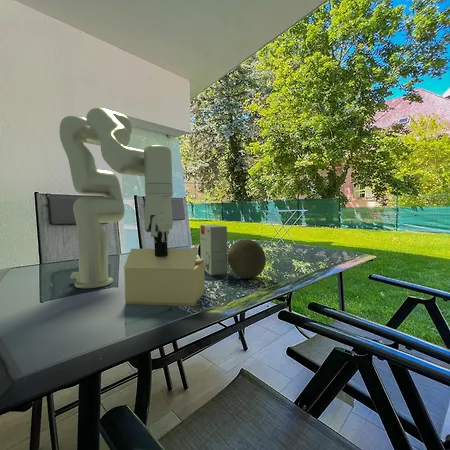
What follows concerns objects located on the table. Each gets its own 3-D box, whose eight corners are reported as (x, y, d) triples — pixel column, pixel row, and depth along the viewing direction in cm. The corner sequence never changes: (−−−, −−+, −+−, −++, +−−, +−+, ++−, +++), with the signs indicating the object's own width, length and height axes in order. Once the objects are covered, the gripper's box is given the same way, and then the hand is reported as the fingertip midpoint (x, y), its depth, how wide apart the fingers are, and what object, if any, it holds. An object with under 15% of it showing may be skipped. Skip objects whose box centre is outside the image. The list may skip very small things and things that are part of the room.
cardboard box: (125, 304, 77) (124, 269, 76) (146, 289, 91) (145, 260, 90) (194, 306, 74) (193, 270, 74) (204, 291, 88) (204, 260, 88)
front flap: (124, 269, 76) (123, 268, 76) (131, 249, 81) (131, 248, 80) (193, 270, 74) (193, 269, 73) (197, 249, 78) (197, 248, 78)
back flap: (135, 261, 83) (135, 260, 83) (145, 260, 90) (145, 258, 90) (199, 262, 81) (199, 260, 81) (204, 260, 88) (204, 259, 88)
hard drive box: (200, 268, 123) (199, 224, 122) (216, 266, 126) (215, 224, 125) (210, 275, 109) (209, 226, 108) (228, 274, 112) (227, 225, 111)
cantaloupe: (234, 273, 112) (233, 237, 111) (268, 275, 107) (268, 238, 107) (223, 282, 98) (222, 241, 97) (262, 285, 94) (262, 242, 93)
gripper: (156, 193, 84) (158, 252, 85) (133, 189, 69) (136, 261, 70) (180, 192, 83) (182, 252, 84) (161, 188, 68) (164, 261, 69)
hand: (161, 256), depth 77 cm, fingers closed
